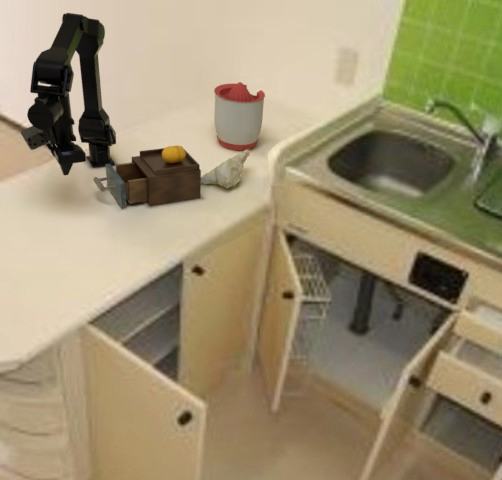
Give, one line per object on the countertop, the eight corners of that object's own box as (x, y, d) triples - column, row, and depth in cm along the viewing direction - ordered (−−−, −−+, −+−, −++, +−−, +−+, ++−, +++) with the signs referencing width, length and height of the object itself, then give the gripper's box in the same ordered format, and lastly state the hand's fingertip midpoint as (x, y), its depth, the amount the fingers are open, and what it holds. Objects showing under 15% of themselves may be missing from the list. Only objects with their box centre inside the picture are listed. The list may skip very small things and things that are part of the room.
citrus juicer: (273, 143, 212) (279, 82, 200) (241, 158, 200) (244, 95, 188) (236, 128, 218) (239, 69, 206) (202, 142, 205) (203, 80, 193)
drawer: (104, 209, 163) (102, 186, 159) (91, 189, 171) (88, 166, 167) (171, 199, 172) (170, 176, 168) (155, 180, 179) (154, 157, 175)
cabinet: (149, 206, 169) (148, 177, 164) (132, 185, 177) (131, 156, 172) (200, 198, 176) (200, 170, 171) (182, 177, 184) (182, 150, 179)
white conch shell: (210, 203, 179) (254, 173, 176) (194, 180, 177) (239, 150, 174) (220, 194, 193) (261, 167, 190) (206, 173, 191) (247, 145, 188)
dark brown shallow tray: (156, 176, 165) (156, 170, 164) (139, 156, 173) (139, 150, 172) (199, 170, 171) (199, 164, 170) (181, 151, 179) (181, 145, 178)
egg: (164, 167, 170) (166, 155, 166) (158, 155, 172) (160, 143, 168) (187, 164, 173) (189, 152, 170) (181, 153, 175) (183, 141, 171)
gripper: (12, 101, 151) (22, 162, 161) (31, 132, 140) (40, 196, 149) (61, 98, 157) (68, 157, 166) (83, 127, 145) (89, 189, 154)
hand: (65, 174), depth 159 cm, fingers closed
